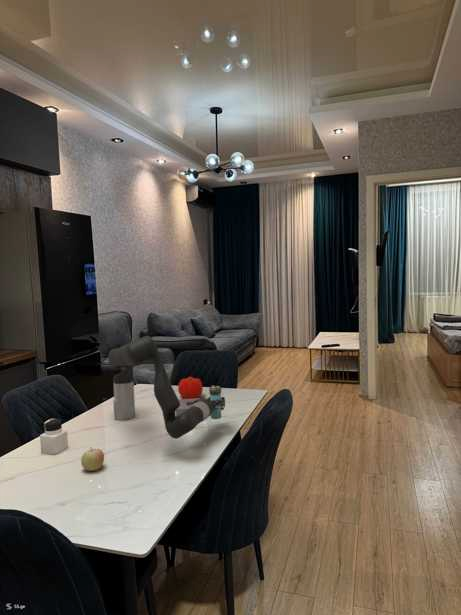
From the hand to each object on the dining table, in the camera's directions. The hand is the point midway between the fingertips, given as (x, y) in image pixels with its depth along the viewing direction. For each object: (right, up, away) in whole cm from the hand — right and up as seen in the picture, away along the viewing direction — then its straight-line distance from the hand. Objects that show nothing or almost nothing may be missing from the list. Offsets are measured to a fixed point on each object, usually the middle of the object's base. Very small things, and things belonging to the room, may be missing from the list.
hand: (218, 398), depth 184 cm
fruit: (-42, -17, -37) cm, 58 cm away
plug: (-1, -8, -2) cm, 8 cm away
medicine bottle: (-63, -16, -20) cm, 68 cm away
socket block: (-13, -11, +23) cm, 29 cm away
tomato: (-16, -9, +45) cm, 49 cm away
